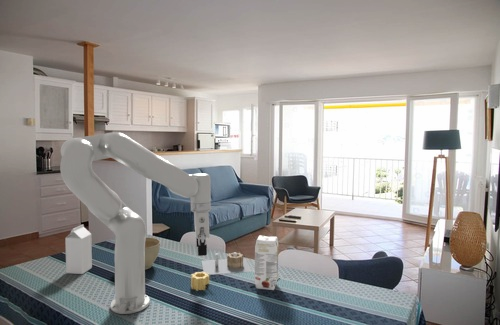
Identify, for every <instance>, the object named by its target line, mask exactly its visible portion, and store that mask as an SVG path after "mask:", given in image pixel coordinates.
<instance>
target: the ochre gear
mask: <svg viewBox="0 0 500 325" xmlns="http://www.w3.org/2000/svg"><path fill="white" fill-rule="evenodd" d="M190 276H191V278H190V286H191V290H195V291H196V292H198V291H205V290H206V289H208V287H207V286H206V285H209V284H210V275H209V273H205V272H203V271H195V272H194V273H191V275H190Z"/></svg>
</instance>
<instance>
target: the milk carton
mask: <svg viewBox="0 0 500 325" xmlns="http://www.w3.org/2000/svg"><path fill="white" fill-rule="evenodd" d="M64 244H65V273H66V274H77V275H83V274H85V273H86V272H88V271H89V270H91V269H92V268H93V259H92V258H93V257H92V256H93V255H92V254H93V252H92V233H91V232H90V231H89V230H88V229H87V228H86V227H85V225H84V224H80V225H78V226H76V227H74V228H72V230H70V233H69V234H68V235H67V236H66V237H65V243H64Z"/></svg>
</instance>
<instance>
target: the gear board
mask: <svg viewBox="0 0 500 325" xmlns="http://www.w3.org/2000/svg"><path fill="white" fill-rule="evenodd" d="M233 253H234V257H237V253H238V252H233ZM214 255H215V256H214V259H207V260H201V266H202V272H205V273H209V276H212V275H213V276H214V275H224V274H225V275H226V274H240V273H251V272H253V270H252V267H251V266H250V265H249V262H248V260H247V259H246V257H243V265H242V267H239V268H230V267H229V266H227V258H224V259H223V258H222V259H220V257H219V255H220V254H219V253H217V252H216V253H215V254H214Z"/></svg>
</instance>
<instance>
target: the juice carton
mask: <svg viewBox="0 0 500 325" xmlns="http://www.w3.org/2000/svg"><path fill="white" fill-rule="evenodd" d="M278 240H279V238H278V236H265V235H261V234H260V235H258V237H257V239H256V240H255V246H254V283H255V284H254V285H255V288H256V289H258V290H268V291H274V290H275V289H276V285H277V282H278V278H279V241H278Z"/></svg>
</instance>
